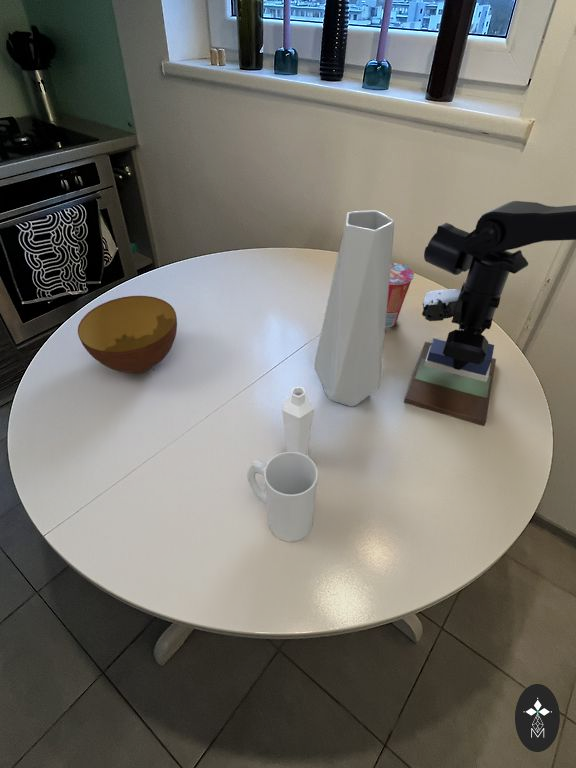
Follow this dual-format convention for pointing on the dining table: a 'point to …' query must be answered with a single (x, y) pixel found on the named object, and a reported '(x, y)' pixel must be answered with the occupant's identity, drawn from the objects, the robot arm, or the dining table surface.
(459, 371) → the blue stepped block
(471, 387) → the brown flat slab
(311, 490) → the mug
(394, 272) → the cup
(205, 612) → the dining table surface
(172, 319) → the bowl
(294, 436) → the perfume bottle
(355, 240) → the vase
